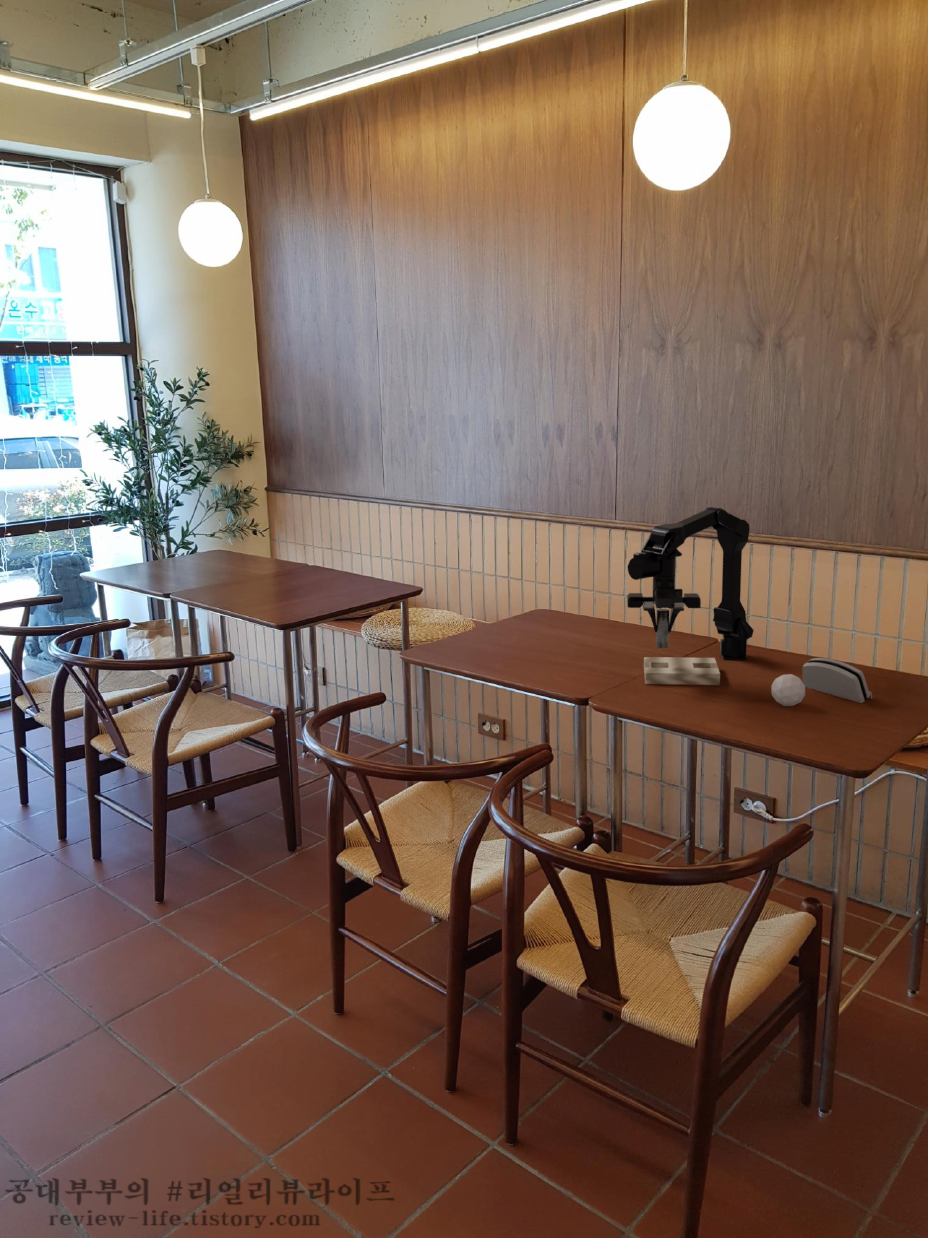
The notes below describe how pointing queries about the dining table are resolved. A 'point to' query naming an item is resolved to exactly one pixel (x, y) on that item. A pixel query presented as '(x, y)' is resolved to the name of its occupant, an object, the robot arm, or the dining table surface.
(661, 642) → the pin
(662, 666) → the dock board
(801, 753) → the dining table surface
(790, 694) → the geometric ball
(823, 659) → the grey napkin holder
